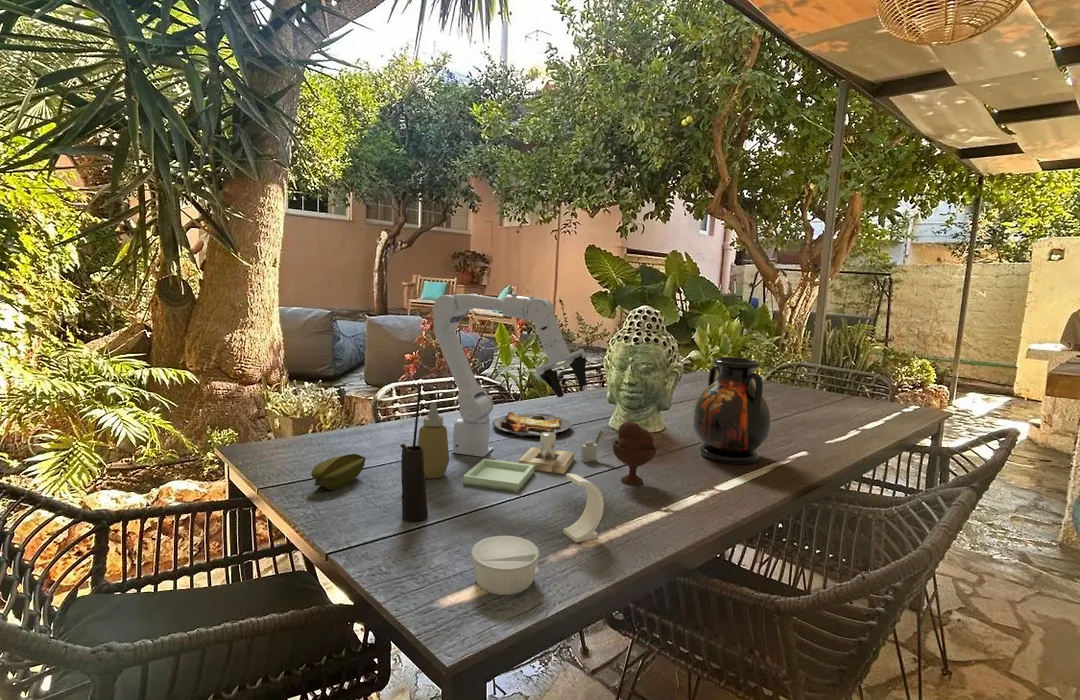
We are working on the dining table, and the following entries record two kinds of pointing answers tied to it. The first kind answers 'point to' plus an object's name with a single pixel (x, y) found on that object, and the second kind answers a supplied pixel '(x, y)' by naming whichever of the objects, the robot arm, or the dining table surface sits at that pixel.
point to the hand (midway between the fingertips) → (572, 391)
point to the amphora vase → (732, 413)
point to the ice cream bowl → (633, 450)
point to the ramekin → (504, 564)
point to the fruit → (338, 471)
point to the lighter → (592, 447)
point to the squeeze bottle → (434, 444)
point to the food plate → (531, 424)
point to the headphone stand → (586, 512)
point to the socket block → (557, 466)
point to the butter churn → (413, 478)
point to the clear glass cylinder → (547, 446)
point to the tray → (499, 475)
